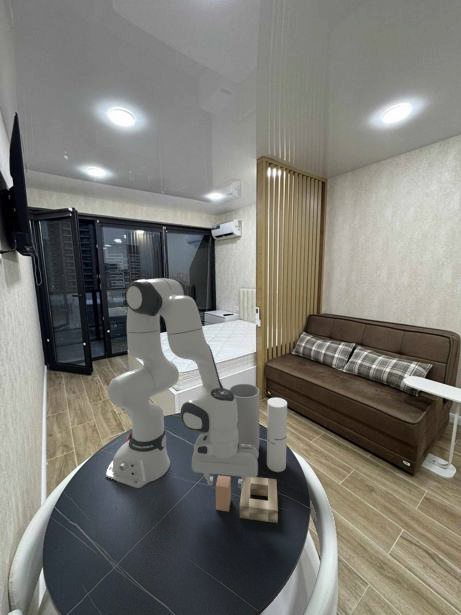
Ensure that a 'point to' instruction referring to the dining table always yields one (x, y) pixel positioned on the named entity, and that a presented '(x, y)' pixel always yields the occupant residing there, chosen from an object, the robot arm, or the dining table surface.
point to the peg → (223, 493)
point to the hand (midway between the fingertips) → (225, 485)
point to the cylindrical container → (276, 434)
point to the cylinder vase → (247, 413)
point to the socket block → (259, 507)
